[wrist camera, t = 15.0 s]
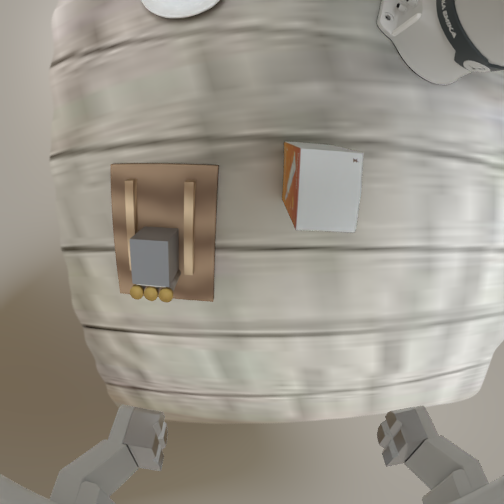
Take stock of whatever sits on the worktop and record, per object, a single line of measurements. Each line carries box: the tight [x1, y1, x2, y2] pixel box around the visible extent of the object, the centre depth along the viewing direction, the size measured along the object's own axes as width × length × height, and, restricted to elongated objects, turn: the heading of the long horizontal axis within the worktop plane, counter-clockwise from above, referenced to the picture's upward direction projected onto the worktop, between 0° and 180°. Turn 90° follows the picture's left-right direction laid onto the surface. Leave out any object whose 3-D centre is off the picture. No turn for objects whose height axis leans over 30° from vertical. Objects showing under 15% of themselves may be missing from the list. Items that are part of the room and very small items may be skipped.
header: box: [111, 163, 219, 302], centre depth 39 cm, size 20×15×8 cm
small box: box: [282, 142, 364, 233], centre depth 33 cm, size 8×6×13 cm
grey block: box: [130, 226, 179, 287], centre depth 39 cm, size 6×5×6 cm
